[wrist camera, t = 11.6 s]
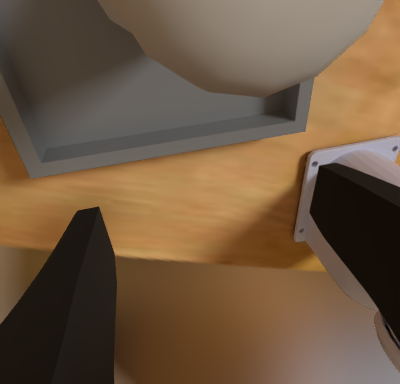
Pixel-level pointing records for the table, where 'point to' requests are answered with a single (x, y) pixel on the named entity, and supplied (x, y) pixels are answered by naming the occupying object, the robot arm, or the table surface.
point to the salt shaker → (244, 38)
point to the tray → (114, 94)
